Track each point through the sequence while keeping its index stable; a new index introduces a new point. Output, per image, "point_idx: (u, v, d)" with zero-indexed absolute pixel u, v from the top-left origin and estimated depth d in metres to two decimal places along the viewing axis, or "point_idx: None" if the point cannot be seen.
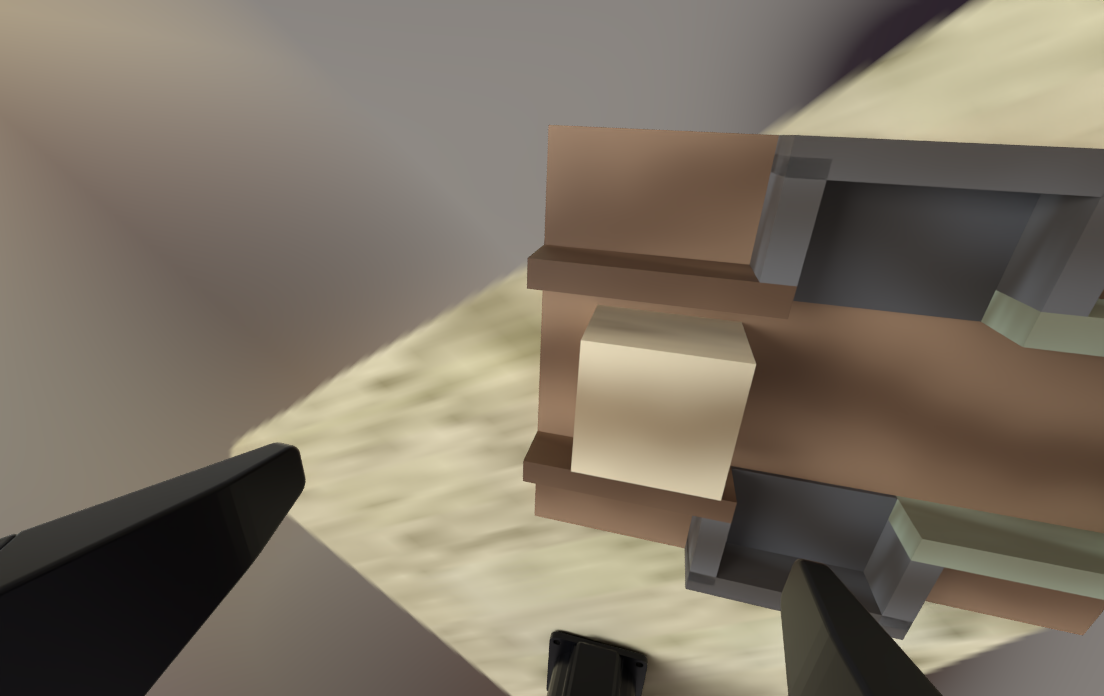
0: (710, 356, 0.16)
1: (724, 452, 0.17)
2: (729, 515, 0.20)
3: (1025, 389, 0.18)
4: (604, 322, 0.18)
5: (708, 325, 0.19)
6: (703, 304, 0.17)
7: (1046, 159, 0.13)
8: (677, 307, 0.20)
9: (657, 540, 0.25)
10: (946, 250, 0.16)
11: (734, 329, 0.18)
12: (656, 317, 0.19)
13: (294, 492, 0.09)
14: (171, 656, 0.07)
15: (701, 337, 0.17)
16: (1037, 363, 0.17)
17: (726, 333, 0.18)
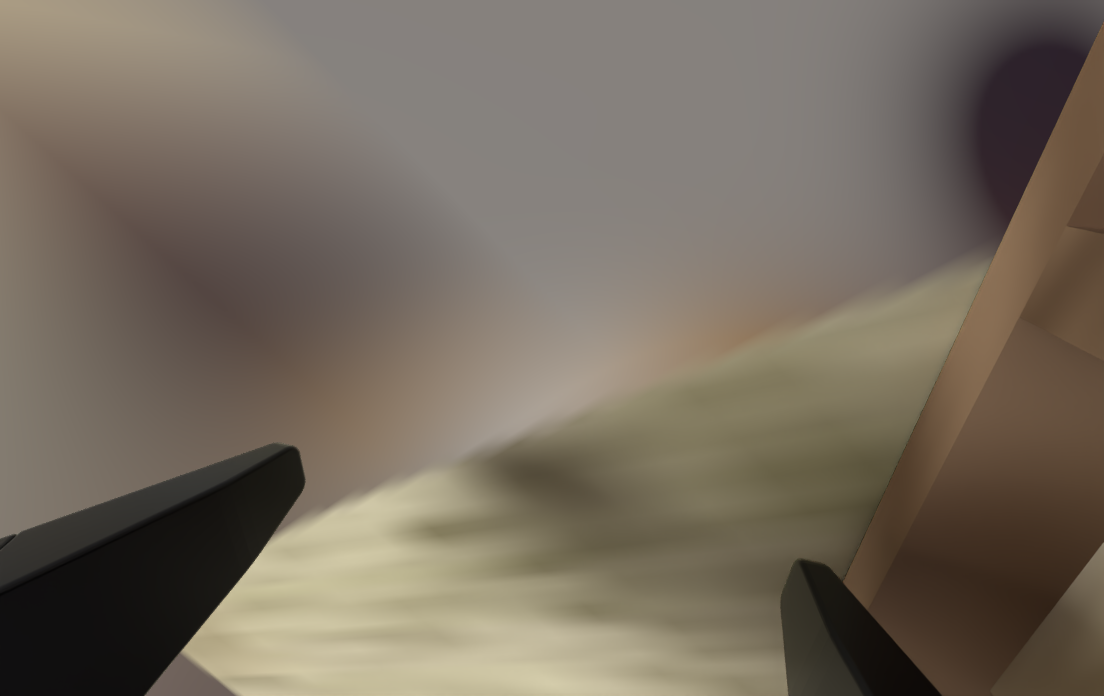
0: None
1: None
2: None
3: None
4: None
5: None
6: None
7: None
8: None
9: None
10: None
11: None
12: None
13: (294, 492, 0.09)
14: (171, 656, 0.07)
15: None
16: None
17: None
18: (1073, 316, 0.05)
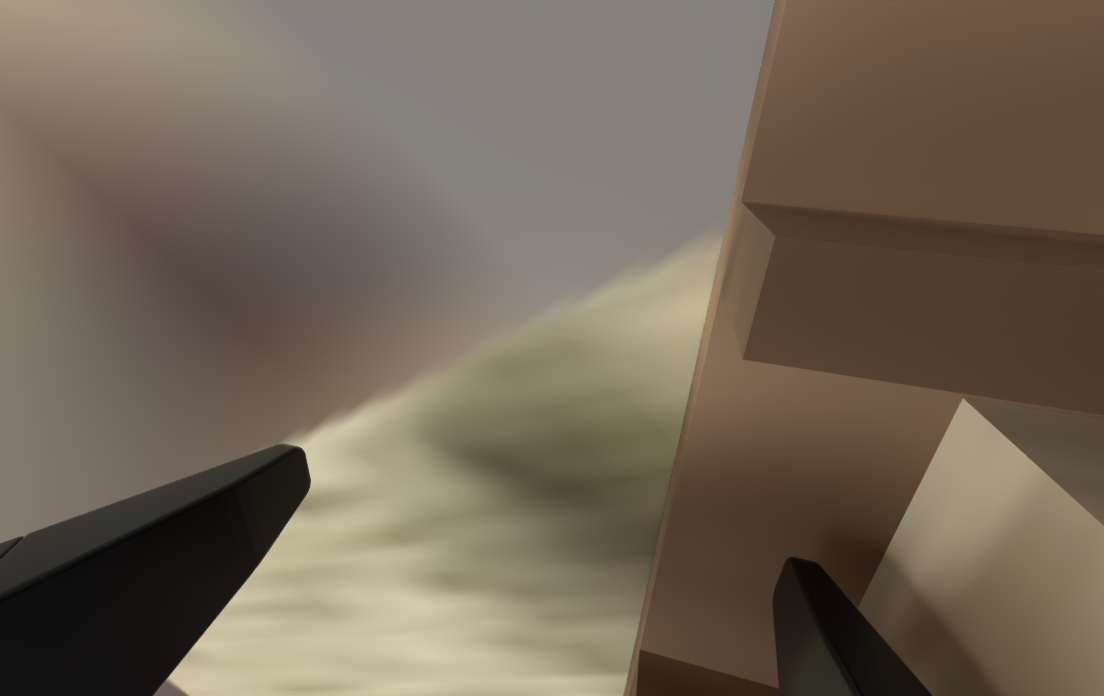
0: None
1: None
2: None
3: None
4: None
5: None
6: None
7: None
8: None
9: None
10: None
11: None
12: None
13: (299, 493, 0.09)
14: (178, 658, 0.07)
15: None
16: None
17: None
18: (731, 282, 0.06)
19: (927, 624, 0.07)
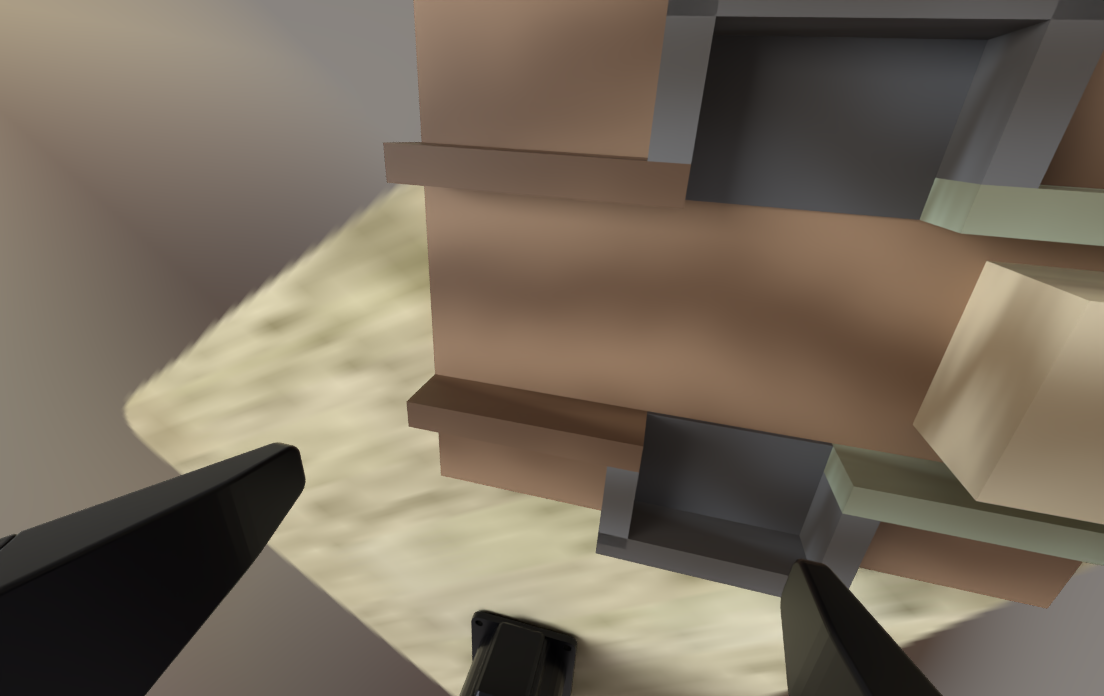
0: None
1: None
2: (636, 462, 0.17)
3: None
4: (1056, 280, 0.12)
5: None
6: (585, 193, 0.14)
7: None
8: (574, 216, 0.17)
9: (574, 502, 0.22)
10: (875, 128, 0.13)
11: None
12: None
13: (294, 492, 0.09)
14: (171, 656, 0.07)
15: None
16: None
17: None
18: None
19: (970, 365, 0.14)
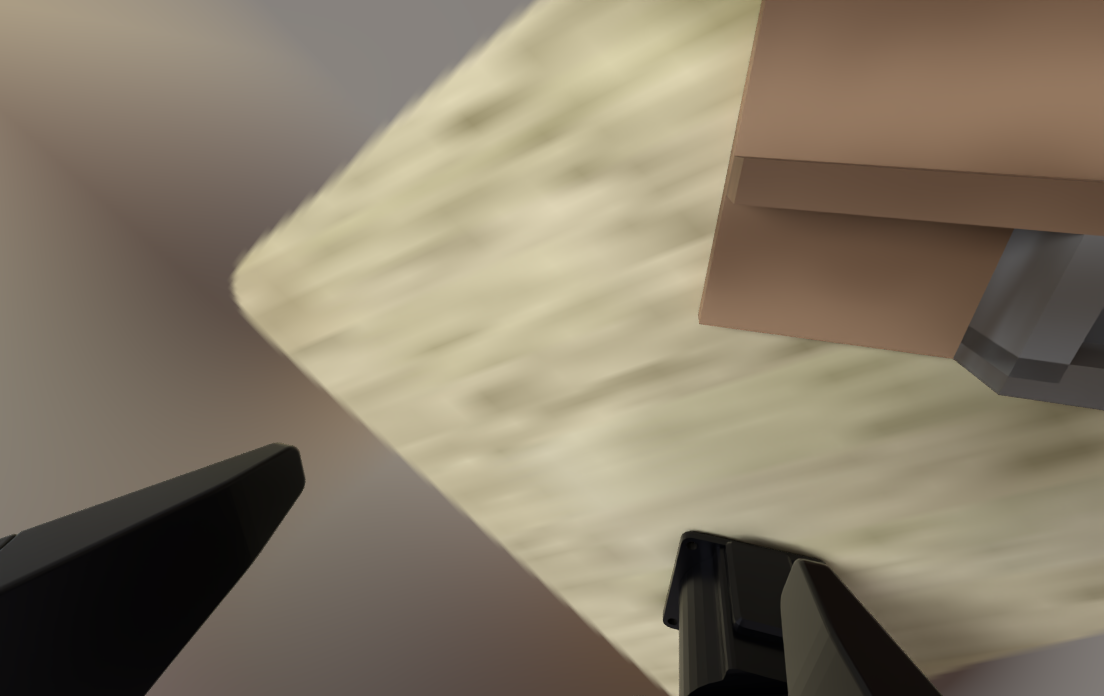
0: None
1: None
2: None
3: None
4: None
5: None
6: None
7: None
8: None
9: (906, 348, 0.16)
10: None
11: None
12: None
13: (294, 492, 0.09)
14: (172, 656, 0.07)
15: None
16: None
17: None
18: None
19: None
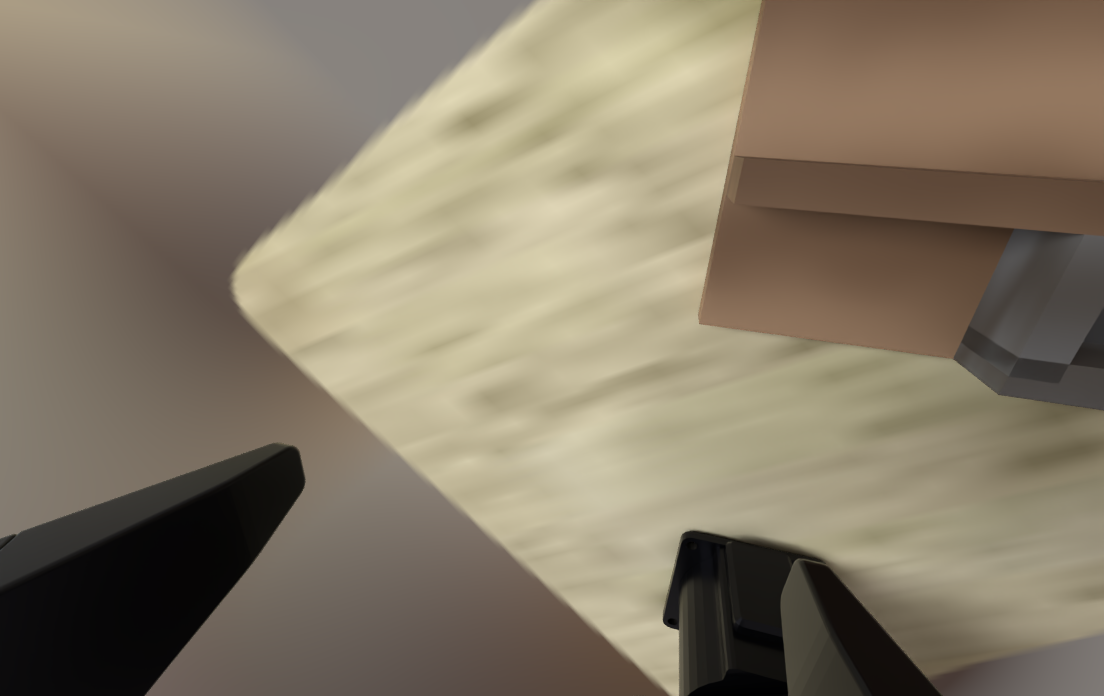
0: None
1: None
2: None
3: None
4: None
5: None
6: None
7: None
8: None
9: (906, 348, 0.16)
10: None
11: None
12: None
13: (294, 492, 0.09)
14: (172, 656, 0.07)
15: None
16: None
17: None
18: None
19: None
